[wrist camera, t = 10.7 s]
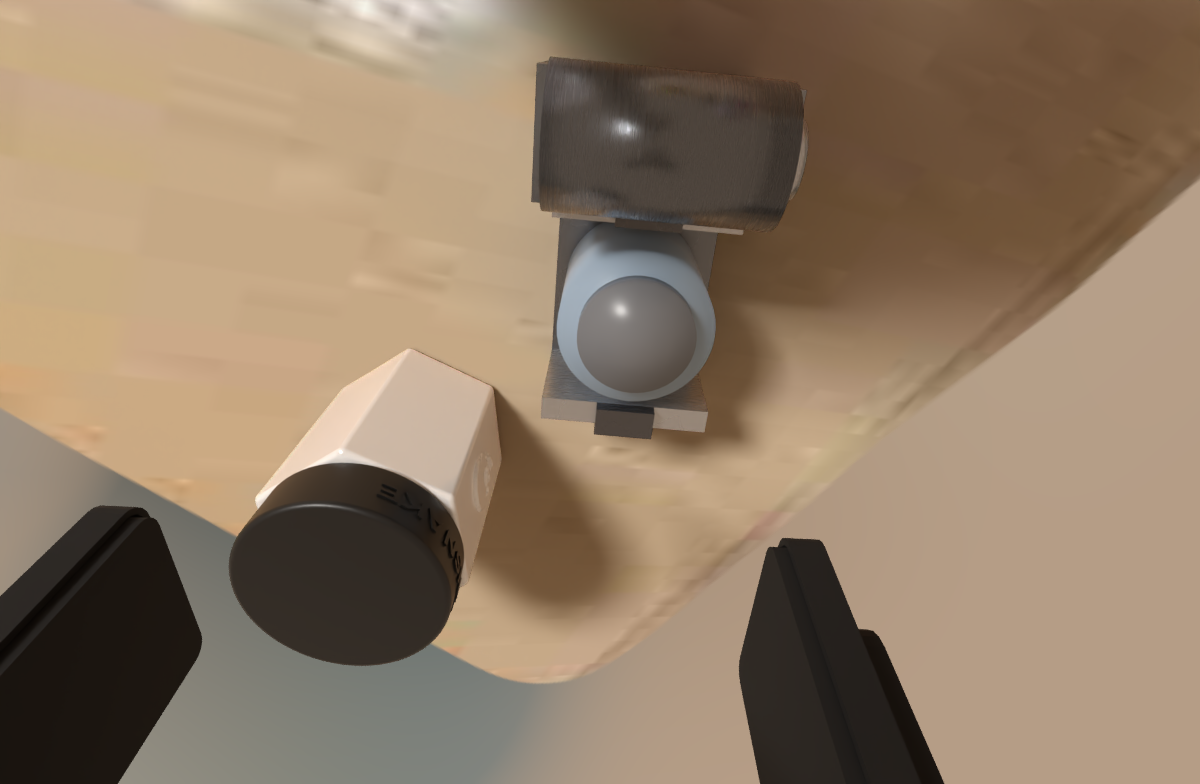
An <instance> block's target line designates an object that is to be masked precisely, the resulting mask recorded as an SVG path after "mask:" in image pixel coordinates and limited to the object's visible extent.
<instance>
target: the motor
mask: <svg viewBox="0 0 1200 784" xmlns="http://www.w3.org/2000/svg"><path fill="white" fill-rule="evenodd" d="M806 92H807V90H803V89H801V88H800V85H799V84H798V83H797V82H795V81H786V80H776V79H766V78H756V77H746V76H737V75H727V74H717V73H707V72H697V71H687V70H677V69H668V68H658V67H648V66H638V65H628V64H618V63H608V62H599V61H589V60H579V59H569V58H559V57H550V58H549V61H545V62H539V63H537V71H536V96H535V122H534V147H533V173H532V198H531V202H537V203H540V208H541V210H542V211H548V212H552V217H559V218H560V227H559V244H558V260H557V277H556V293H555V310H554V326H553V343H552V352H551V357H550V361H549V366H548V371H547V376H546V381H545V385H544V390H543V395H542V406H541V418H545V419H556V420H568V421H579V422H591V423H595V426H594V434H596V435H608V436H619V437H631V438H642V439H651V436H652V429H653V428H659V429H670V430H682V431H693V432H705V426H706V421H707V416H708V409H707V405H706V402H705V398H704V394H703V390H702V386H701V382H700V378H699V374H698V373H697V374H696V375H695V376H694V377H693V378H692V379H691V380H690V381H689V382H688V383H687V384H685V385H684V386H683V387H681V388H679V389H678V390H676V391H674V392H672V393H670V394H668V395H666V396H663V397H659V398H656V399H651V400H646V401H624V400H617V399H614V398H610V397H607V396H604V395H602V394H599V393H597V392H596V391H594V390H592V389H590V388H589V387H587V386H586V385H585V384H583V383H582V382H581V381H580V380H579V379H578V378H577V377H576V376H575V375H574V374H573V373H572V371H571V370H570V369H569V367H568V366H567V364H566V362H565V361H564V359H563V356H562V354H561V351H560V348H559V345H558V339H557V319H558V313H559V308H560V303H561V298H562V293H563V288H564V283H565V278H566V274H567V269H568V265H569V261H570V258H571V256H572V253H573V251H574V249H575V248H576V246H577V244H578V243H579V242H580V240H581V239H582V238H583V237H584V236H585V235H586V234H587V233H588V232H589V231H590V230H592V229H593V228H594V227H596V226H597V225H599V224H601V223H603V222H611V223H615V227H622V228H632V229H643V230H653V231H664V232H674V233H679V234H680V235H681V237H682V238H683V239H684V240H685V241H686V243H687V244H688V246H689V247H690V249H691V252H692V254H693V256H694V259H695V261H696V264H697V266H698V269H699V271H700V274H701V277H702V279H703V282H704V284H705V287H706V289H707V291H708V286H709V280H710V274H711V269H712V263H713V257H714V252H715V246H716V240H717V234H718V233H727V234H737V235H743V231H744V230H746V231H757V232H767V233H768V232H771V231H772V230H773V229H774V228H775V227H776V226H777V225H778V223H779V221H780V219H781V217H782V215H783V213H784V211H785V208H786V205H787V203H788V201H790V200H792V198H793V197H794V196H795V194H796V192H797V190H798V188H799V185H800V182H801V179H802V176H803V173H804V169H805V164H806V159H807V152H808V126H807V123H806V121H805V120H803V118H804V108H803V106H804V101H805V97H806Z"/></svg>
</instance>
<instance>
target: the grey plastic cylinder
mask: <svg viewBox="0 0 1200 784" xmlns="http://www.w3.org/2000/svg"><path fill="white" fill-rule="evenodd" d="M715 331H716V320H715V314H714V309H713V306H712V303H711V300H710V297H709V295H708V292H707V289H706V287H705V284H704V282H703V279H702V277H701V274H700V271H699V269H698V266H697V264H696V261H695V259H694V256H693V254H692V252H691V249H690V247H689V246H688V244H687V243H686V241H685V240H684V239H683V238H682V237H681V235H680V234H679V233H674V232H664V231H653V230H643V229H632V228H622V227H615V223H611V222H603V223H601V224H599V225H597V226H596V227H594V228H593V229H592V230H590V231H589V232H588V233H587V234H586V235H585V236H584V237H583V238H582V239H581V240H580V242H579V243H578V244H577V246H576V248H575V249H574V251H573V253H572V256H571V258H570V261H569V265H568V269H567V274H566V278H565V283H564V288H563V293H562V298H561V303H560V308H559V313H558V319H557V339H558V345H559V348H560V351H561V354H562V356H563V359H564V361H565V362H566V364H567V366H568V367H569V369H570V370H571V371H572V373H573V374H574V375H575V376H576V377H577V378H578V379H579V380H580V381H581V382H582V383H583V384H585V385H586V386H587V387H589V388H590V389H592V390H594V391H596V392H597V393H599V394H602V395H604V396H607V397H610V398H614V399H617V400H624V401H646V400H651V399H656V398H659V397H663V396H666V395H668V394H670V393H672V392H674V391H676V390H678V389H679V388H681V387H683V386H684V385H685V384H687V383H688V382H689V381H690V380H691V379H692V378H693V377H694V376H695V375H696V374H697V373H698V372H699V371H700V370H701V368H702V367H703V366H704V364H705V362H706V361H707V359H708V357H709V355H710V352H711V350H712V347H713V343H714V339H715Z"/></svg>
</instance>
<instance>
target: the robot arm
mask: <svg viewBox="0 0 1200 784" xmlns="http://www.w3.org/2000/svg"><path fill="white" fill-rule="evenodd" d="M201 645H202V636H201V632H200V629H199V627H198V624H197V621H196V619H195V616H194V614H193V611H192V608H191V606H190V603H189V601H188V598H187V595H186V593H185V590H184V588H183V585H182V582H181V580H180V577H179V575H178V572H177V569H176V567H175V565H174V562H173V559H172V556H171V554H170V551H169V549H168V546H167V544H166V541H165V538H164V536H163V533H162V530H161V528H160V525H159V524H158V522H157V520H155V519H154V518H150V516H149V514H148V512H147V511H146V510H144V509H143V508H138V507H119V506H98V507H95V508H93V509H91V510H90V511H89V512H87V513H86V514H85V515H84V516H83V517H82V518H81V519H80V520H79V521H78V522H77V523H76V524H75V525H74V526H73V527H72V528H71V529H70V530H69V531H68V532H67V533H65V534H64V535H63V536H62V537H61V538H60V539H59V540H58V541H57V542H56V543H55V544H54V545H53V546H52V547H51V548H50V549H49V550H48V551H47V552H46V553H45V554H44V555H43V556H42V557H41V558H40V559H38V560H37V561H36V562H35V563H34V564H33V565H32V566H31V568H29V569H28V570H27V571H26V572H25V573H24V574H23V575H22V576H21V577H20V578H19V579H18V580H17V581H16V582H15V583H14V584H13V585H12V586H10V587H9V588H8V589H7V590H6V591H5V592H4V593H3V594H2V595H1V596H0V784H118V783H119V781H120V779H121V778H122V776H123V775H124V773H125V771H126V770H127V768H128V767H129V765H130V764H131V762H132V760H133V759H134V757H135V756H136V754H137V753H138V751H139V749H140V748H141V746H142V745H143V743H144V742H145V740H146V738H147V737H148V735H149V733H150V732H151V730H152V729H153V727H154V726H155V724H156V723H157V721H158V719H159V718H160V716H161V715H162V713H163V712H164V710H165V708H166V707H167V705H168V704H169V702H170V700H171V699H172V697H173V696H174V694H175V693H176V691H177V690H178V688H179V686H180V685H181V683H182V682H183V680H184V678H185V677H186V675H187V674H188V672H189V671H190V669H191V667H192V666H193V664H194V663H195V661H196V659H197V657H198V655H199V653H200V650H201ZM739 677H740V684H741V689H742V695H743V699H744V705H745V709H746V715H747V719H748V725H749V730H750V735H751V740H752V745H753V750H754V755H755V760H756V765H757V770H758V775H759V780H760V784H944V782H943V780H942V777H941V775H940V773H939V770H938V768H937V766H936V763H935V761H934V759H933V757H932V754H931V752H930V750H929V747H928V745H927V743H926V741H925V739H924V736H923V734H922V731H921V729H920V727H919V725H918V722H917V720H916V718H915V715H914V713H913V711H912V709H911V706H910V704H909V702H908V699H907V697H906V695H905V693H904V690H903V688H902V686H901V683H900V681H899V679H898V676H897V674H896V672H895V670H894V667H893V665H892V663H891V660H890V658H889V656H888V654H887V651H886V649H885V647H884V645H883V643H882V642H881V640H880V638H879V636H877V634H875V633H874V631H871V630H864V629H858V627H857V625H856V622H855V620H854V618H853V615H852V613H851V610H850V607H849V605H848V603H847V600H846V598H845V595H844V593H843V590H842V588H841V585H840V583H839V581H838V578H837V576H836V573H835V571H834V568H833V566H832V563H831V561H830V558H829V556H828V554H827V551H826V549H825V546H824V545H823V543H822V542H821V541H820V540H814V539H793V538H792V539H791V538H782V539H781V541H780V543H779V545H778V547H769V548H768V550H767V552H766V556H765V560H764V564H763V568H762V572H761V576H760V580H759V584H758V588H757V592H756V596H755V600H754V604H753V608H752V612H751V616H750V620H749V624H748V628H747V632H746V636H745V640H744V644H743V648H742V652H741V656H740V661H739Z"/></svg>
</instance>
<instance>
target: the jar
mask: <svg viewBox="0 0 1200 784" xmlns="http://www.w3.org/2000/svg"><path fill="white" fill-rule="evenodd" d="M501 461H502V457H501V449H500V441H499V432H498V424H497V415H496V407H495V398H494V390H493V388H492V387H491V386H490V385H488V384H486V383H484V382H482V381H479V380H477V379H475V378H473V377H471V376H469V375H467V374H465V373H462V372H460V371H458V370H456V369H454V368H452V367H450V366H448V365H445V364H443V363H441V362H439V361H437V360H435V359H433V358H431V357H428V356H426V355H424V354H422V353H420V352H418V351H416V350H414V349H407V350H405V351H403V352H402V353H400V354H399V355H397V356H395V357H394V358H392V359H390V360H389V361H387V362H385V363H384V364H382V365H381V366H379V367H377V368H376V369H374V370H372V371H371V372H369V373H367V374H366V375H364V376H363V377H361V378H359V379H358V380H356V381H354V382H353V383H351V384H349V385H348V386H346V387H344V388H343V389H342V390H341V391H340V392H339V394H338V395H337V396H336V397H335V399H334V400H333V401H332V402H331V404H330V405H329V406H328V407H327V409H326V410H325V411H324V412H323V414H322V415H321V416H320V417H319V419H318V420H317V421H316V422H315V424H314V425H313V426H312V427H311V429H310V430H309V431H308V432H307V434H306V435H305V436H304V437H303V439H302V440H301V441H300V442H299V444H298V445H297V446H296V447H295V449H294V450H293V451H292V452H291V454H290V455H289V456H288V457H287V459H286V460H285V461H284V462H283V464H282V465H281V466H280V467H279V469H278V470H277V471H276V472H275V474H274V475H273V476H272V477H271V479H270V480H269V481H268V482H267V484H266V485H265V486H264V487H263V489H262V490H261V491H260V492H259V494H258V495H257V496H256V498H255V502H256V505H257V508H258V510H257V511H256V512H255V514H254V515H253V516H252V518H251V519H250V520H249V522H248V523H247V524H246V525H245V527H244V528H243V529H242V531H241V532H240V533H239V535H238V536H237V538H236V540H235V542H234V544H233V547H232V550H231V553H230V558H229V576H230V581H231V585H232V588H233V591H234V594H235V596H236V598H237V600H238V602H239V603H240V605H241V606H242V608H243V610H244V611H245V612H246V614H247V615H248V616H249V617H250V618H251V619H252V620H253V622H255V624H256V625H257V626H258V627H260V628H261V629H262V630H263V631H264V632H265V633H267V634H268V635H269V636H271V637H272V638H274V639H275V640H277V641H278V642H280V643H281V644H283V645H285V646H287V647H289V648H291V649H292V650H295V651H297V652H299V653H301V654H304V655H307V656H310V657H312V658H315V659H319V660H322V661H326V662H331V663H337V664H342V665H354V666H369V665H380V664H386V663H391V662H395V661H399V660H401V659H404V658H407V657H409V656H411V655H413V654H415V653H417V652H419V651H420V650H422V649H424V648H425V647H426V646H428V645H429V644H430V643H431V642H432V641H433V640H434V639H436V637H437V636H438V635H439V634H440V632H441V631H442V629H443V628H444V626H445V624H446V622H447V620H448V618H449V615H450V612H451V611H452V608H453V605H454V602H456V598H457V595H458V591H459V588H460V587H462V586H464V585H466V584H467V583H468V581H469V578H470V574H471V571H472V567H473V563H474V560H475V556H476V552H477V549H478V545H479V541H480V538H481V534H482V530H483V527H484V523H485V519H486V516H487V512H488V509H489V505H490V501H491V498H492V494H493V490H494V487H495V483H496V479H497V476H498V472H499V468H500V465H501Z"/></svg>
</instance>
